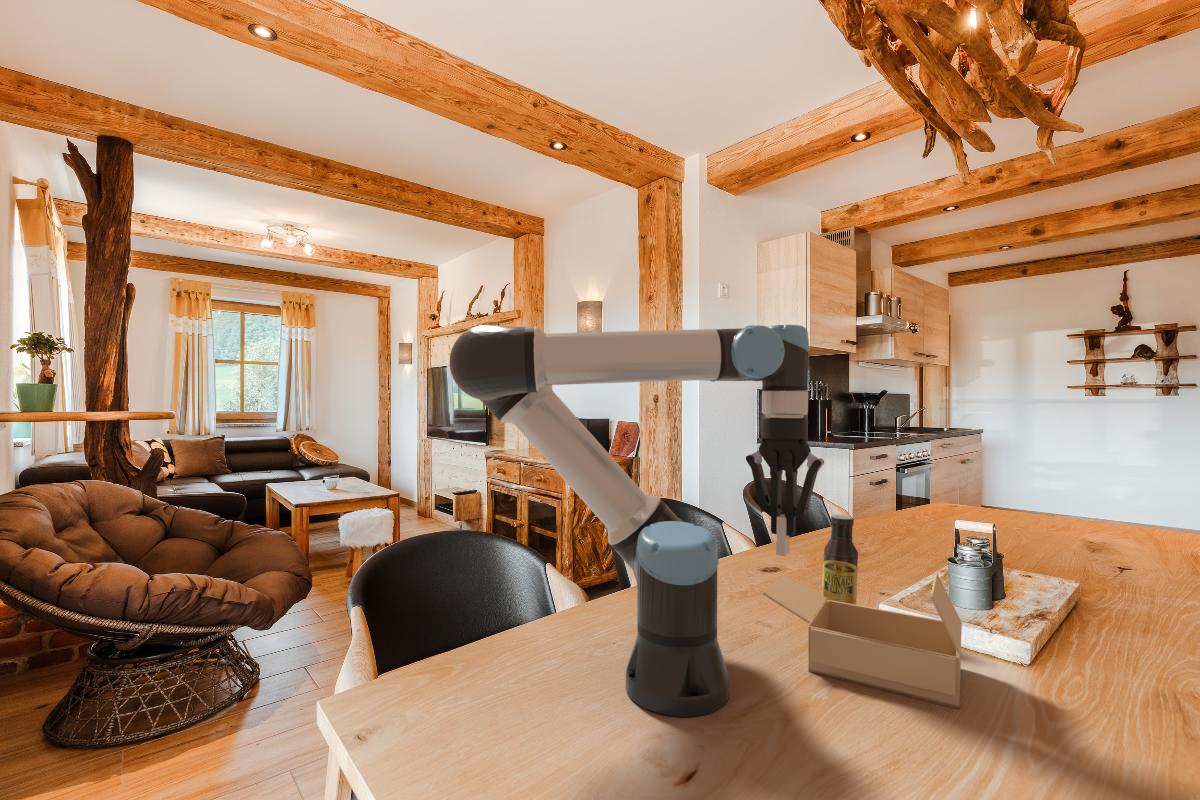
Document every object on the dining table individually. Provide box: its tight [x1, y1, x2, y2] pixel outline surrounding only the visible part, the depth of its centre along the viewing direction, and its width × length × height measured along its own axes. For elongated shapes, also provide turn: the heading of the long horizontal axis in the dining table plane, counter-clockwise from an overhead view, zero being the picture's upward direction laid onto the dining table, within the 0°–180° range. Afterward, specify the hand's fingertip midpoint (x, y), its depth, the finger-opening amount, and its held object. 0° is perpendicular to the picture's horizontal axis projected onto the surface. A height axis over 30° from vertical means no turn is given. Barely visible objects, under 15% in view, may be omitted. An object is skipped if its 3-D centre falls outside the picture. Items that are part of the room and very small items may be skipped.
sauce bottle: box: [820, 514, 859, 609], centre depth 111 cm, size 6×6×20 cm
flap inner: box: [762, 572, 827, 624], centre depth 98 cm, size 13×1×8 cm
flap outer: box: [930, 572, 963, 654], centre depth 86 cm, size 13×1×8 cm, turn 147°
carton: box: [807, 600, 962, 710], centre depth 90 cm, size 15×20×7 cm
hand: (782, 553), depth 99 cm, fingers closed
